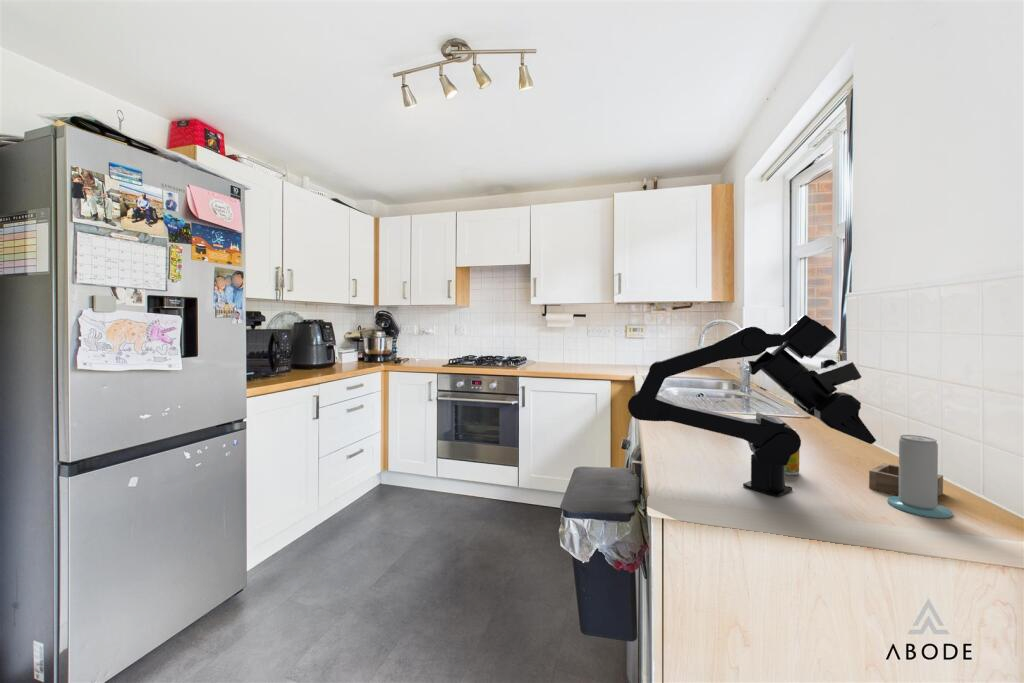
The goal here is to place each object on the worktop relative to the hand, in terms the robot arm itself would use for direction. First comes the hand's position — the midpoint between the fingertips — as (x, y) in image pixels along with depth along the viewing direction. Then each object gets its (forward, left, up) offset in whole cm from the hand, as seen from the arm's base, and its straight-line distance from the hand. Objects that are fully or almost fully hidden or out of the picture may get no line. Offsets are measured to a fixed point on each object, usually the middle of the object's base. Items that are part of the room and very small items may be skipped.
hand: (862, 436), depth 73 cm
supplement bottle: (+5, +15, -12) cm, 20 cm away
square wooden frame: (+13, -3, -12) cm, 18 cm away
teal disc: (+5, -7, -12) cm, 15 cm away
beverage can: (+5, -6, -12) cm, 14 cm away
